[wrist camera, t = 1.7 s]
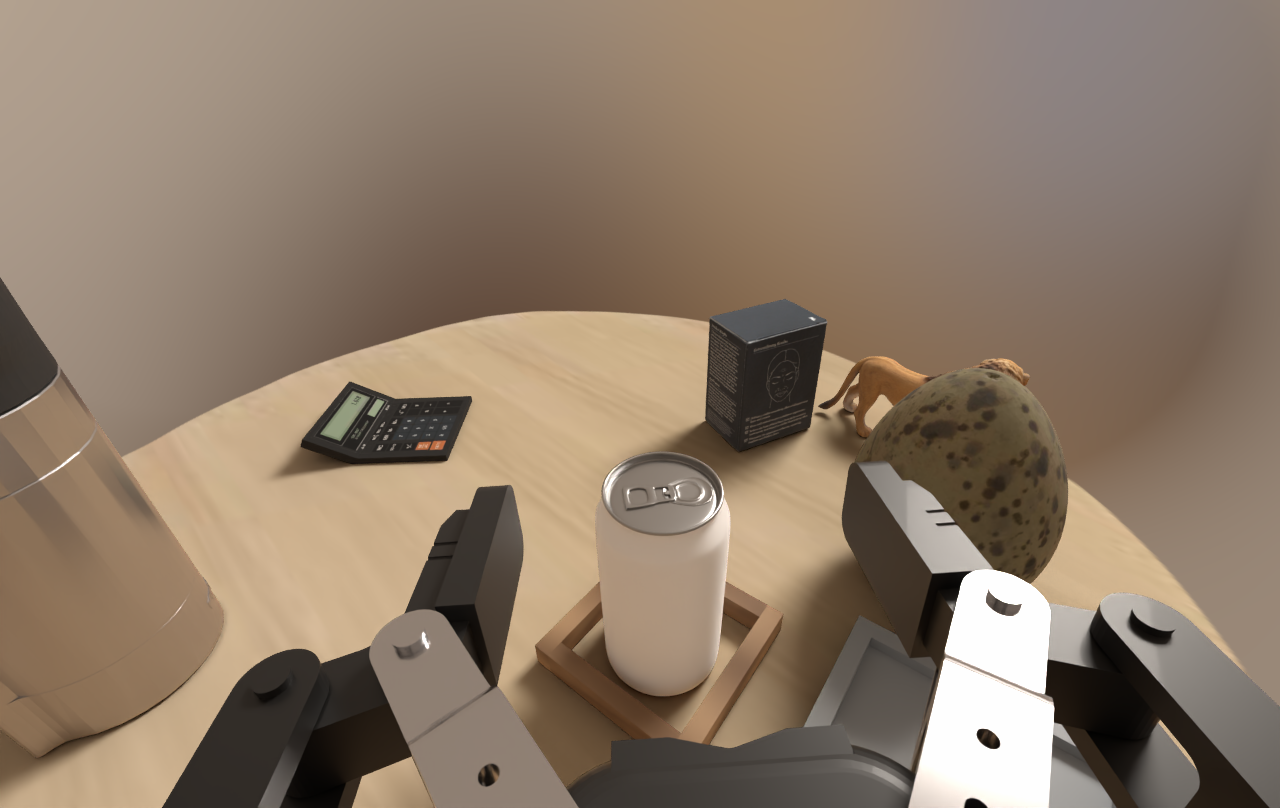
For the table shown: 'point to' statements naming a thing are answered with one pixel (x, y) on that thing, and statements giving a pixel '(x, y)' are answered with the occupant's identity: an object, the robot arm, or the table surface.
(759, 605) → the frame
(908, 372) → the lion figurine
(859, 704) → the tray
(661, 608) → the can
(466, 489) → the table surface
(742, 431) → the box
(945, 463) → the decorative egg
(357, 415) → the calculator
